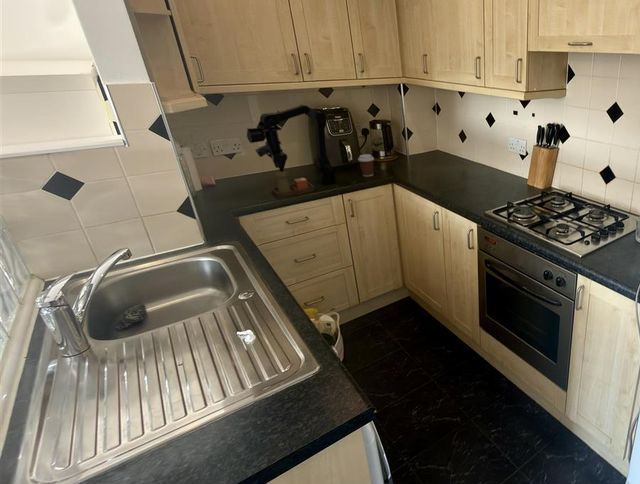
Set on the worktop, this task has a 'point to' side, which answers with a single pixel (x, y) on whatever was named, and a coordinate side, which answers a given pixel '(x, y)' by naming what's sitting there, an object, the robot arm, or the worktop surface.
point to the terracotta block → (300, 183)
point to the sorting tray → (293, 190)
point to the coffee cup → (366, 164)
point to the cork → (282, 182)
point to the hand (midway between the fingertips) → (279, 169)
